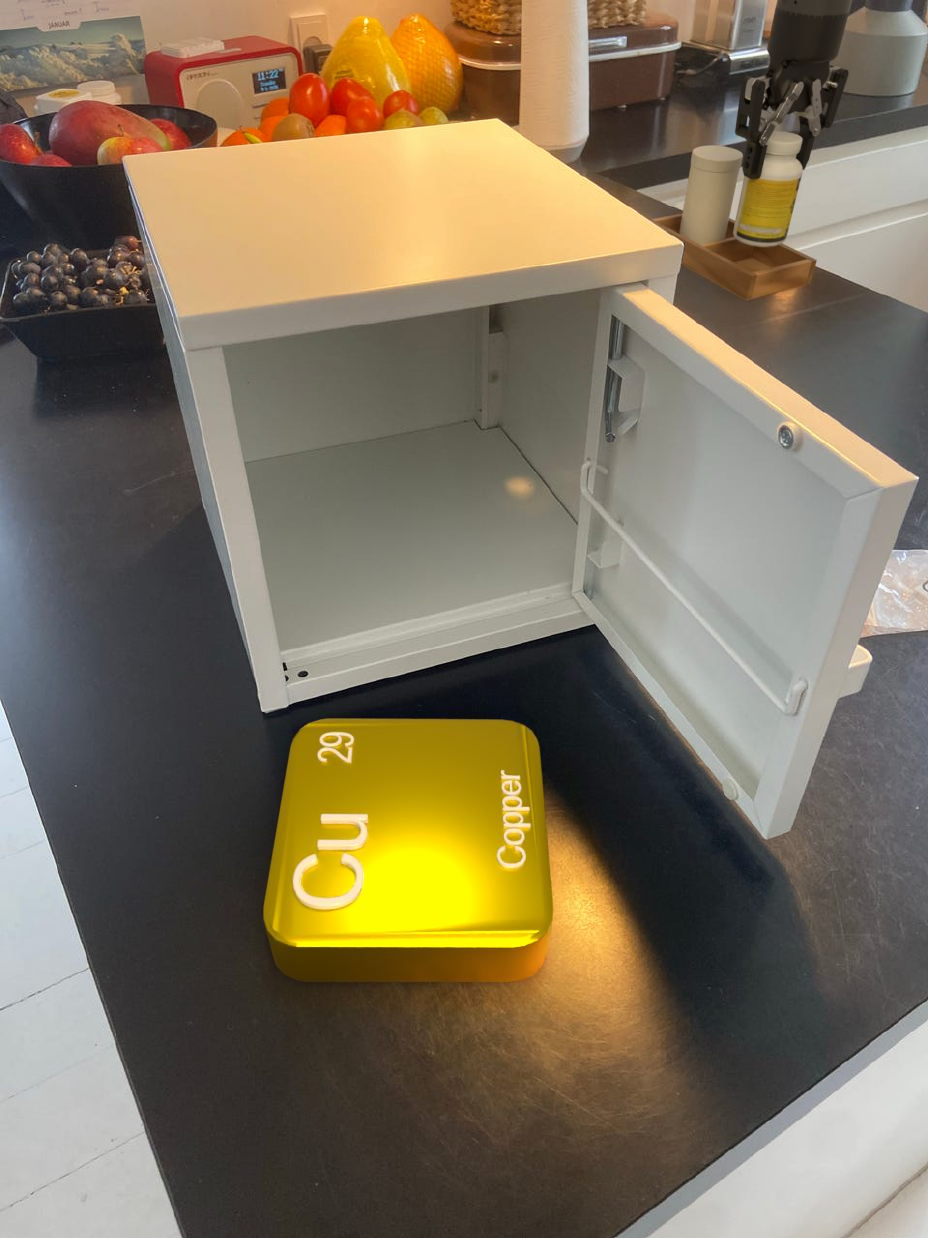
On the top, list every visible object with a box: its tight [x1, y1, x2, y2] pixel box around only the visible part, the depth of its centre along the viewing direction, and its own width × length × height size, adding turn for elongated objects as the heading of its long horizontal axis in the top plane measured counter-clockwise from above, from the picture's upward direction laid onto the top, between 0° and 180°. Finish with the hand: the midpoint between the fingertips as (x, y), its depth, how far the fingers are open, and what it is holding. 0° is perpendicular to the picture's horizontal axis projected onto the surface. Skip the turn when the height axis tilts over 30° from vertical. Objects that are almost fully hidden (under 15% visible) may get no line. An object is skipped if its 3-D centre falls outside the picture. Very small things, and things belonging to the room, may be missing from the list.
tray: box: [650, 212, 818, 301], centre depth 118 cm, size 11×20×4 cm, turn 29°
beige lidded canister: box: [679, 145, 744, 245], centre depth 118 cm, size 6×6×12 cm
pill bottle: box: [733, 130, 804, 247], centre depth 109 cm, size 6×6×12 cm
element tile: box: [262, 718, 554, 983], centre depth 52 cm, size 15×15×5 cm
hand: (774, 172), depth 107 cm, fingers closed on pill bottle, 6 cm apart
